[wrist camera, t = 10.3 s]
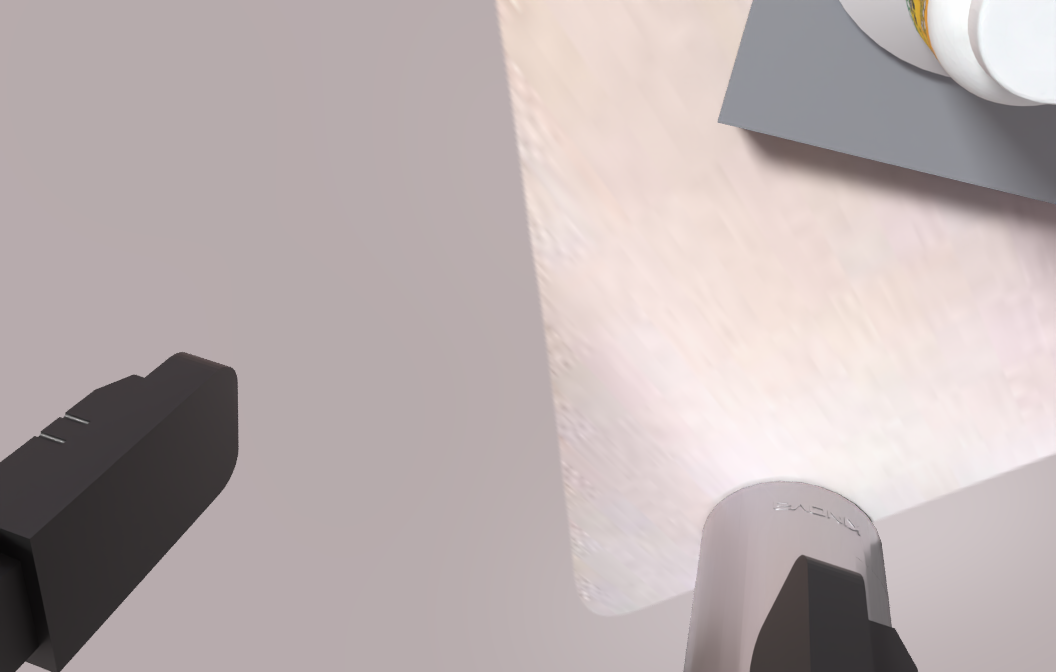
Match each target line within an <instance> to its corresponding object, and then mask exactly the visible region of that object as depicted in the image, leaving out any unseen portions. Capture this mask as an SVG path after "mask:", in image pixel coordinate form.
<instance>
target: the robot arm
mask: <svg viewBox="0 0 1056 672" xmlns="http://www.w3.org/2000/svg"><path fill="white" fill-rule="evenodd" d="M237 384H238V382H237V375H236V373H235V370H234V369H233V368H231V367H228V366H225V365H222V364H219V363H216V362H213V361H210V360H207V359H204V358H200V357H197V356H194V355H191V354H188V353H185V352H180V353H176V354H174V355H173V356H171V357H170V358H169V359H167V360H166V361H165V362H164V363H162V364H161V365H160V366H159V367H157V368H156V369H155V370H154V371H152V372H151V373H150V374H149V375H148V376H146V377H145V378H143V377H140V376H137V375H131V376H129V377H127V378H124V379H121V380H119V381H117V382H114V383H111V384H109V385H106V386H104V387H101V388H99V389H96V390H94V391H93V392H92V393H90V394H89V395H88V396H87V397H85V398H84V399H83V400H81V401H80V402H79V403H77V404H76V405H75V406H73V407H72V408H71V409H69V410H68V411H67V412H66V414H65V416H64V418H61V417H59V418H58V419H57V420H55V421H54V422H53V423H51V424H50V425H49V426H48V427H46V428H45V429H43V430H42V431H41V434H40V436H39V437H36V436H34V437H33V438H32V439H30V440H29V441H28V442H26V443H25V444H24V445H22V446H21V447H20V448H18V449H17V450H16V451H15V452H13V453H12V454H11V455H9V456H8V457H7V458H6V459H4V460H3V461H2V462H0V672H15V671H16V670H17V669H18V668H19V667H20V666H21V665H22V664H23V663H24V662H25V661H26V662H28V663H31V664H33V665H36V666H39V667H41V668H44V669H46V670H49V671H51V672H60V671H61V670H62V669H63V668H64V667H65V665H66V664H67V663H68V662H69V661H70V660H71V659H72V657H74V655H75V654H76V653H77V652H78V651H79V650H80V649H81V648H82V647H83V645H84V644H85V643H86V642H87V641H88V640H89V639H90V638H91V637H92V635H93V634H94V633H95V632H96V631H97V630H98V629H99V628H100V627H101V625H102V624H103V623H104V622H105V621H106V620H107V619H108V618H109V616H110V615H111V614H112V613H113V612H114V611H115V610H116V609H117V608H118V606H119V605H120V604H121V603H122V602H123V601H124V600H125V599H126V598H127V596H128V595H129V594H130V593H131V592H132V591H133V590H134V589H135V588H136V586H137V585H138V584H139V583H140V582H141V581H142V580H143V579H144V578H145V576H146V575H147V574H148V573H149V572H150V571H151V570H152V568H153V567H154V566H155V565H156V564H157V563H158V562H159V560H161V559H162V557H163V556H164V555H165V554H166V553H167V552H168V551H169V550H170V548H171V547H172V546H173V545H174V544H175V543H176V542H177V541H178V540H179V538H180V537H181V536H182V535H183V534H184V533H185V532H186V531H187V530H188V528H189V527H190V526H191V525H192V524H193V523H194V522H195V520H196V519H197V518H198V517H199V516H200V515H201V514H202V513H203V512H204V511H205V509H206V508H207V507H208V506H209V505H210V504H211V503H212V502H213V501H214V499H215V498H216V497H217V496H218V495H219V494H220V493H221V491H222V490H223V489H224V487H225V486H226V484H227V482H228V481H229V479H230V477H231V475H232V473H233V470H234V468H235V465H236V461H237V457H238V389H237V388H238V385H237ZM888 600H889V599H888V592H887V584H886V575H885V568H884V560H883V551H882V543H881V540H880V538H879V535H878V532H877V530H876V528H875V526H874V525H873V524H872V522H871V521H870V519H869V518H868V516H867V515H866V514H865V513H864V512H862V511H861V510H860V509H859V508H858V507H857V506H856V505H855V504H854V503H852V502H850V501H849V500H847V499H845V498H844V497H842V496H840V495H839V494H837V493H834V492H832V491H829V490H827V489H824V488H822V487H819V486H814V485H810V484H805V483H800V482H785V481H777V482H767V483H759V484H756V485H752V486H749V487H745V488H742V489H740V490H738V491H736V492H734V493H733V494H731V495H729V496H727V497H726V498H725V499H723V500H722V501H721V502H720V503H719V504H717V505H716V506H715V508H714V509H713V510H712V512H711V513H710V515H709V516H708V517H707V520H706V523H705V525H704V528H703V533H702V540H701V548H700V555H699V563H698V570H697V577H696V583H695V590H694V597H693V604H692V612H691V619H690V627H689V634H688V642H687V649H686V656H685V664H684V671H683V672H918V670H917V667H916V666H915V664H914V662H913V660H912V658H911V656H910V655H909V653H908V651H907V649H906V648H905V646H904V644H903V642H902V641H901V639H900V637H899V635H898V633H897V632H896V630H895V628H892V626H891V617H890V609H889V608H890V607H889V601H888Z"/></svg>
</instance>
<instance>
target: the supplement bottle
mask: <svg viewBox="0 0 1056 672" xmlns="http://www.w3.org/2000/svg"><path fill="white" fill-rule="evenodd" d="M905 1H906V5H907V9H908V12H909V15H910V18H911V20H912V22H913V24H914V26H915V28H916V30H917V32H918V33H919V35H920V36H921V38H922V39H923V40H924V42H925V43H926V44H927V46H928V47H929V49H930V50H931V52H932V53H933V54H934V56H935V57H936V59H937V60H938V61H939V63H940V64H941V66H942V67H943V68H944V70H945V71H946V72H947V73H948V74H949V76H950V77H951V78H952V79H953V80H954V81H955V82H956V83H958V84H959V85H960V86H962V87H963V88H964V89H966V90H967V91H969V92H971V93H973V94H974V95H976V96H978V97H981V98H983V99H985V100H988V101H992V102H995V103H1000V104H1005V105H1012V106H1037V105H1045V104H1052V105H1056V0H905Z"/></svg>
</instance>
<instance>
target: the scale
mask: <svg viewBox="0 0 1056 672" xmlns="http://www.w3.org/2000/svg"><path fill="white" fill-rule="evenodd" d="M718 123H722V124H727V125H731V126H735V127H739V128H743V129H747V130H751V131H755V132H759V133H764V134H768V135H772V136H776V137H780V138H784V139H788V140H792V141H797V142H801V143H805V144H809V145H813V146H817V147H821V148H825V149H830V150H834V151H838V152H842V153H846V154H850V155H854V156H858V157H863V158H867V159H871V160H875V161H879V162H883V163H887V164H891V165H895V166H900V167H904V168H908V169H912V170H916V171H920V172H924V173H928V174H933V175H937V176H941V177H945V178H949V179H953V180H957V181H961V182H966V183H970V184H974V185H978V186H982V187H986V188H990V189H994V190H999V191H1003V192H1007V193H1011V194H1015V195H1019V196H1023V197H1027V198H1032V199H1036V200H1040V201H1044V202H1048V203H1052V204H1056V105H1052V104H1045V105H1037V106H1012V105H1005V104H1000V103H995V102H992V101H988V100H985V99H983V98H981V97H978V96H976V95H974V94H973V93H971V92H969V91H967V90H966V89H964V88H963V87H962V86H960V85H959V84H958V83H956V82H955V81H954V80H953V79H952V78H951V77H950V76H949V74H948V73H947V72H946V71H945V70H944V68H943V67H942V66H941V64H940V63H939V61H938V60H937V59H936V57H935V56H934V54H933V53H932V52H931V50H930V49H929V47H928V46H927V44H926V43H925V42H924V40H923V39H922V38H921V36H920V35H919V33H918V32H917V30H916V28H915V26H914V24H913V22H912V20H911V18H910V15H909V12H908V9H907V5H906V1H905V0H753V2H752V5H751V8H750V12H749V15H748V19H747V22H746V26H745V29H744V32H743V36H742V39H741V43H740V46H739V50H738V53H737V56H736V60H735V63H734V67H733V70H732V74H731V77H730V80H729V84H728V87H727V91H726V94H725V98H724V101H723V104H722V108H721V112H720V115H719V119H718Z"/></svg>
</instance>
